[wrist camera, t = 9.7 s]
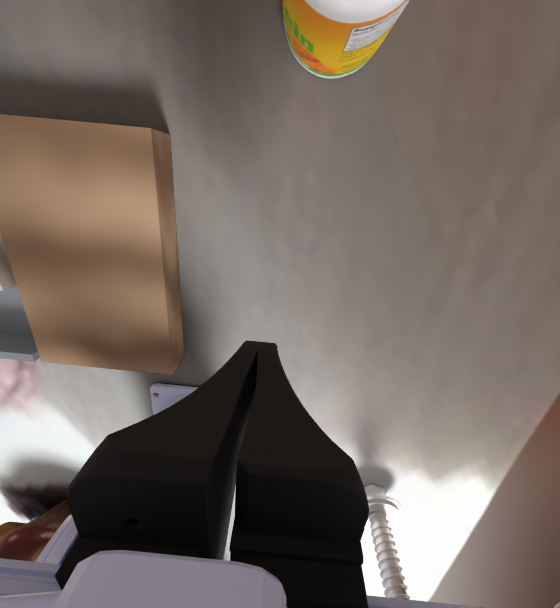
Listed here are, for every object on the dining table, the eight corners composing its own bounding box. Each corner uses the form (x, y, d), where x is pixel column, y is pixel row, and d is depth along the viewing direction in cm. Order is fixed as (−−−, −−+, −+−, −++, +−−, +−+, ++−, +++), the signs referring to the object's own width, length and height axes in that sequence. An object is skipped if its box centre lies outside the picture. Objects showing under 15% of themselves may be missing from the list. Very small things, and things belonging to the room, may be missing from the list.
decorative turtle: (153, 542, 36) (117, 637, 28) (33, 529, 36) (-34, 620, 28) (146, 494, 32) (102, 589, 24) (11, 479, 32) (-74, 569, 24)
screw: (348, 507, 31) (348, 477, 29) (393, 506, 30) (396, 476, 28) (382, 712, 19) (385, 686, 17) (457, 716, 19) (470, 689, 17)
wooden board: (184, 355, 24) (172, 374, 21) (65, 344, 24) (41, 362, 21) (169, 134, 17) (150, 128, 15) (5, 119, 17) (-39, 110, 15)
